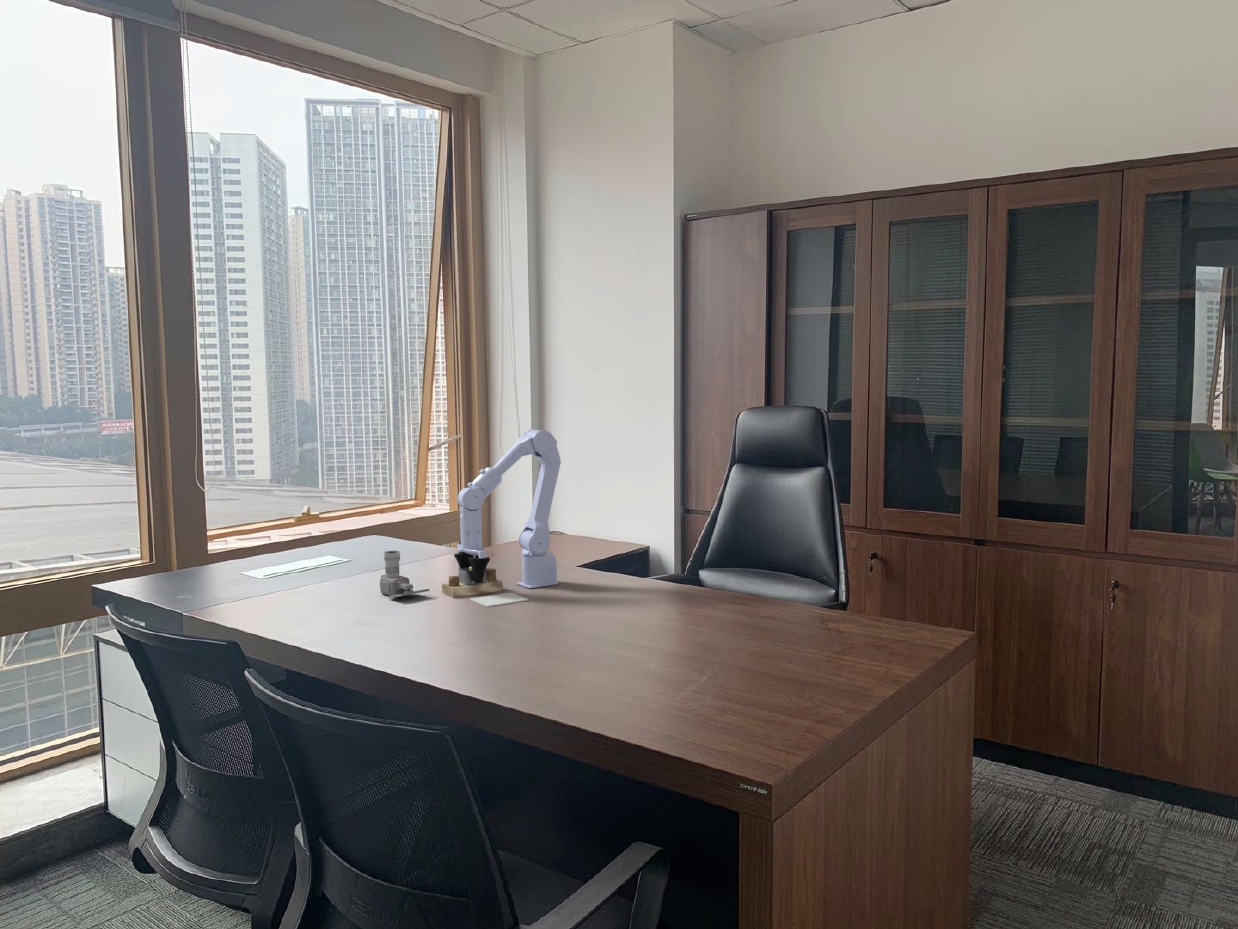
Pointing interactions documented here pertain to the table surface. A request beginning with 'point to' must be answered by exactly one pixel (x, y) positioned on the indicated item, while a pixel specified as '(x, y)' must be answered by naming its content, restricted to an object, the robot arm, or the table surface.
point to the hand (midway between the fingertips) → (472, 580)
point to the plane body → (461, 590)
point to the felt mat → (499, 599)
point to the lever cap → (468, 576)
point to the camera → (395, 578)
